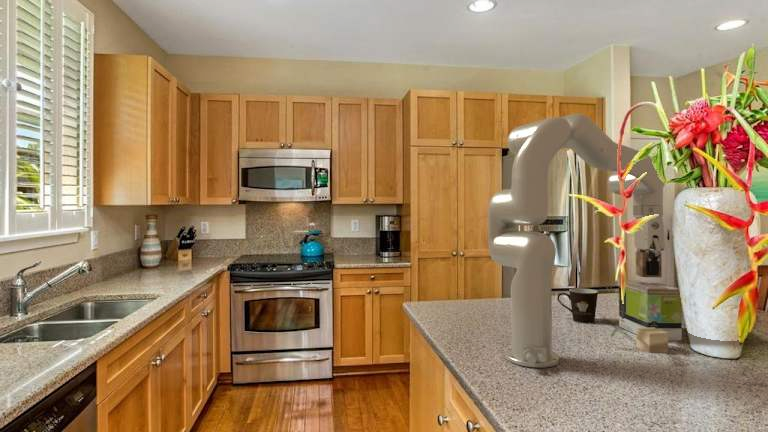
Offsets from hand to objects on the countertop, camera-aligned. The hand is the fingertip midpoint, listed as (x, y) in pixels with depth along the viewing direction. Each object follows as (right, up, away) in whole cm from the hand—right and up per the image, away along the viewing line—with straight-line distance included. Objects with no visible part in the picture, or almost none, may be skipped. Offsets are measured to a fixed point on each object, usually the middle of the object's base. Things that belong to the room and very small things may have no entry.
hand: (648, 272), depth 123 cm
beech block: (-8, -18, -14) cm, 24 cm away
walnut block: (0, -1, 0) cm, 1 cm away
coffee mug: (-13, -18, +16) cm, 27 cm away
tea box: (0, -18, 0) cm, 18 cm away
